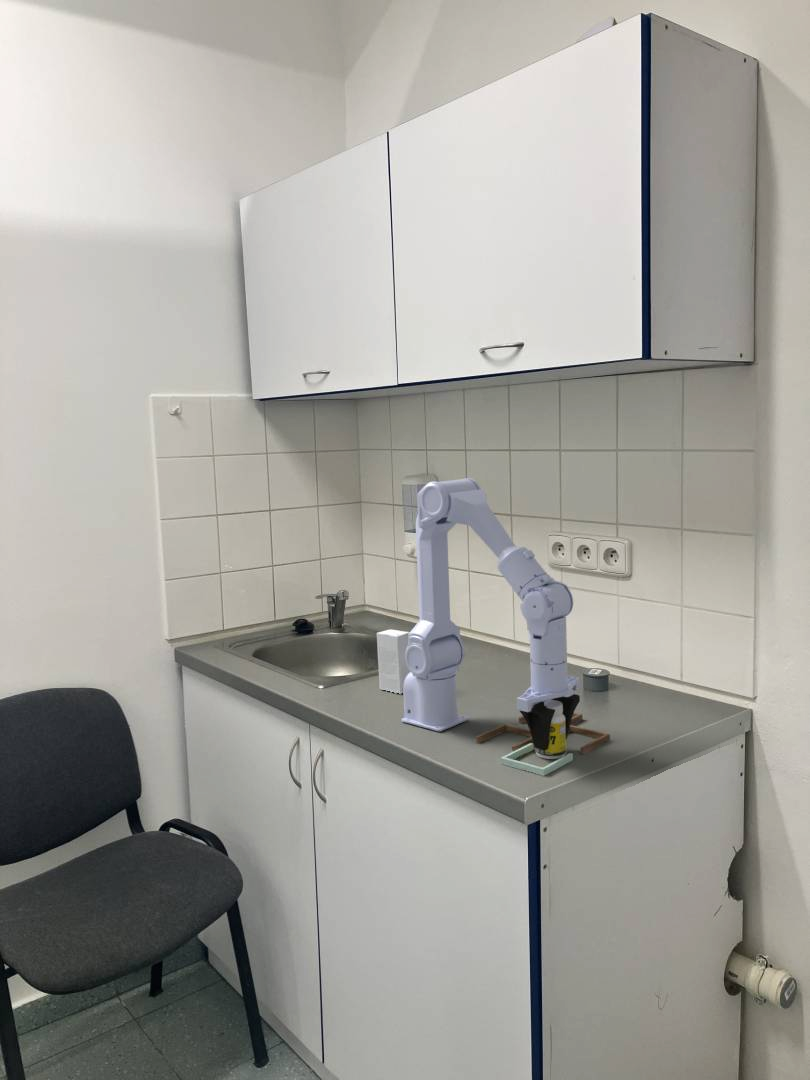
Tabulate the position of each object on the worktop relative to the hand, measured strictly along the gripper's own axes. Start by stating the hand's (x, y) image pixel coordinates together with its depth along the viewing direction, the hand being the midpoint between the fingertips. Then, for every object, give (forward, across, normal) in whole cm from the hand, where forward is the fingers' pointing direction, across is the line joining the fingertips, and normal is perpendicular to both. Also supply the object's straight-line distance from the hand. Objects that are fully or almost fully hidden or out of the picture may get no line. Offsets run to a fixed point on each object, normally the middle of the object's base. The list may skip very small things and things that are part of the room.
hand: (550, 743), depth 140 cm
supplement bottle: (+2, 0, 0) cm, 2 cm away
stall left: (+2, +13, +9) cm, 16 cm away
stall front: (+2, +7, 0) cm, 7 cm away
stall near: (+2, +1, +9) cm, 9 cm away
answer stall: (+2, -4, 0) cm, 4 cm away
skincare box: (+2, +11, +45) cm, 46 cm away
